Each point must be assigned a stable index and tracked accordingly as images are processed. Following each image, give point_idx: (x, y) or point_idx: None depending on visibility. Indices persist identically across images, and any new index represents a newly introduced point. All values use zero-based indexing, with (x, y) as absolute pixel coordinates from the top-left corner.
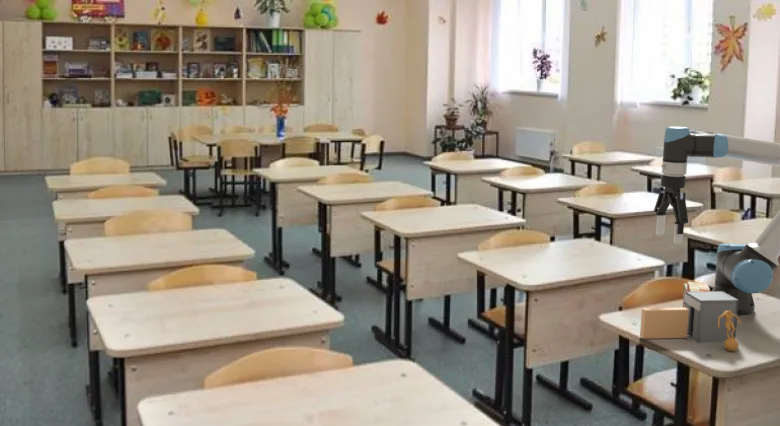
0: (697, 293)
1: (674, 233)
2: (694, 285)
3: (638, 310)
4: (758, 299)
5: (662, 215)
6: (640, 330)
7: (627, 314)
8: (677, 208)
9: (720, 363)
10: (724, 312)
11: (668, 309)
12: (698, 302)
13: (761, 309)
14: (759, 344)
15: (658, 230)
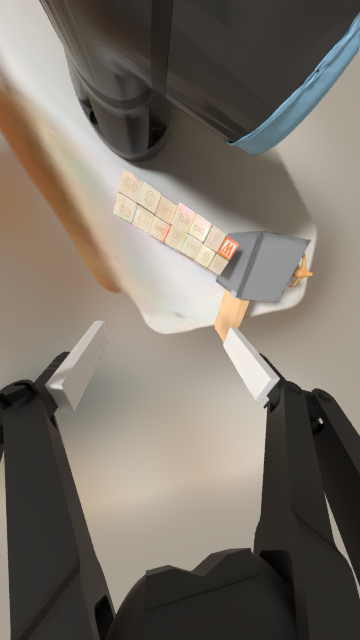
0: (251, 286)
1: (238, 367)
2: (193, 247)
3: (133, 290)
4: None
5: (51, 394)
6: (216, 329)
7: (148, 308)
8: (328, 502)
9: (291, 294)
10: (299, 278)
11: (239, 321)
12: (271, 301)
13: None
14: (284, 210)
15: (101, 349)
